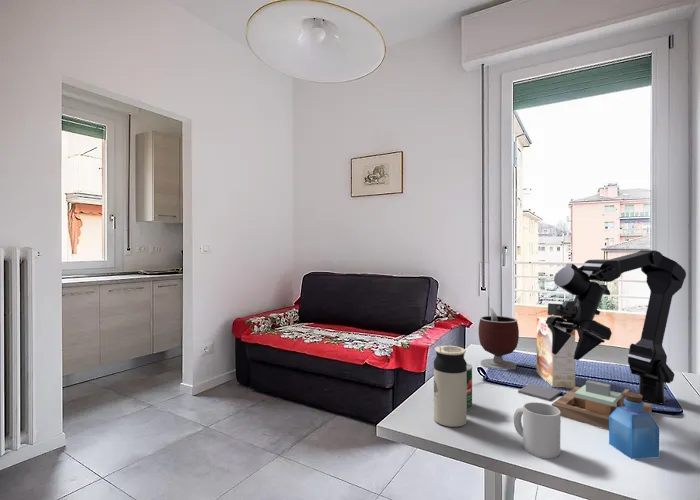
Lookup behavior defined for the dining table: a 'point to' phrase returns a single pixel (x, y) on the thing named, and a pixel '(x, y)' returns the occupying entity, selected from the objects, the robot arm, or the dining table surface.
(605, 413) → the block
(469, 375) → the canned tomato
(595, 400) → the lid
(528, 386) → the mat
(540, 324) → the coffeecake box
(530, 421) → the cup
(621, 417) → the perfume bottle
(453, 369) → the travel mug
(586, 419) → the puzzle board
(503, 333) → the mate gourd
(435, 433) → the dining table surface
